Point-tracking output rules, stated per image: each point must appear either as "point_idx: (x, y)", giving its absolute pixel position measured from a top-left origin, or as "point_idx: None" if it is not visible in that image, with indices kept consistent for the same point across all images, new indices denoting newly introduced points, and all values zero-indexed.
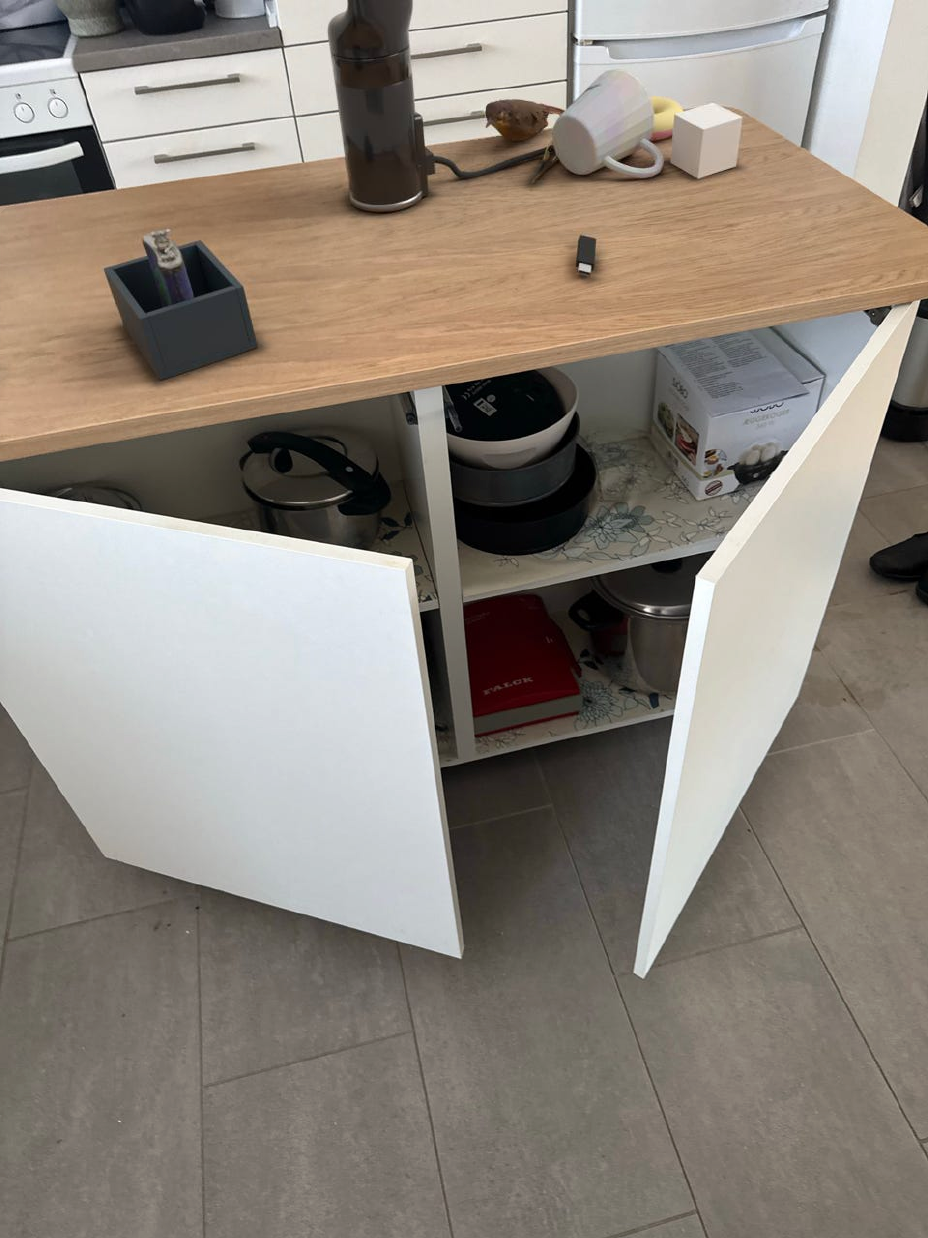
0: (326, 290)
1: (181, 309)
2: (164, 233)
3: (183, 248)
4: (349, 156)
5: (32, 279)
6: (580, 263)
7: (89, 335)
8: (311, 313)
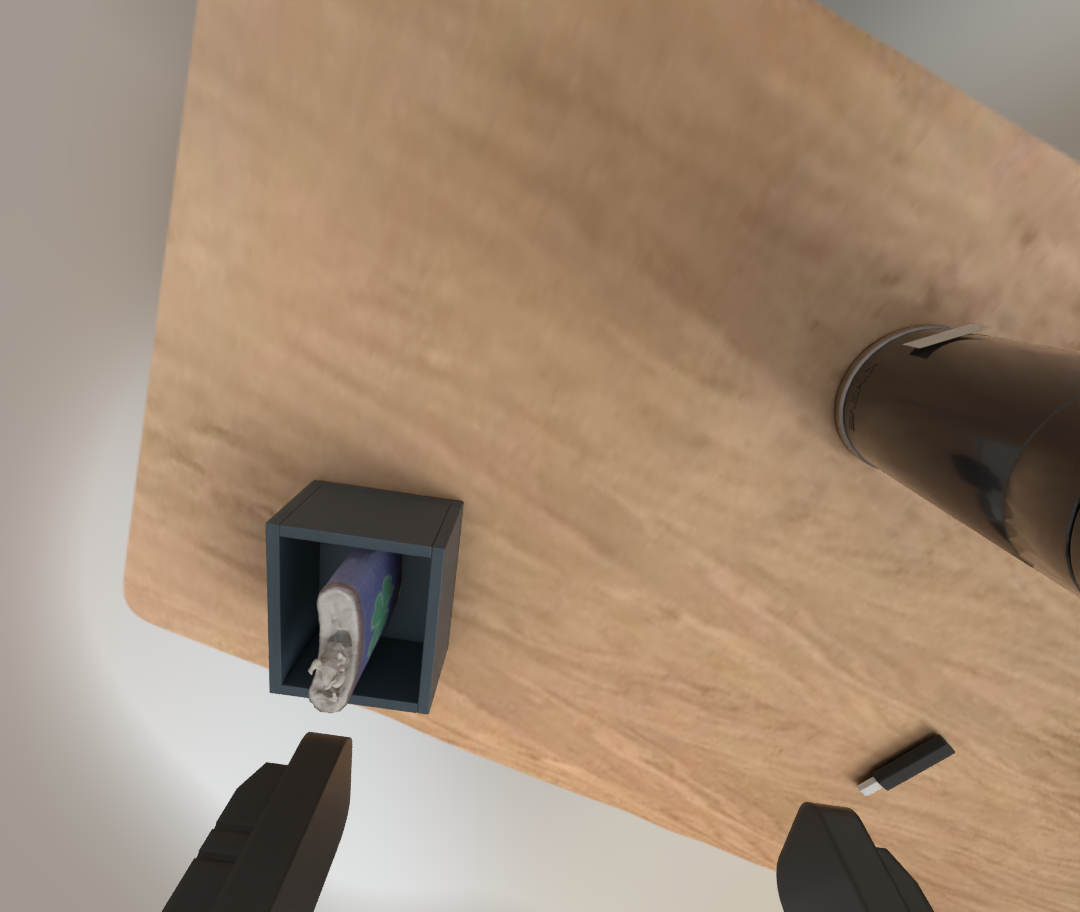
0: (602, 592)
1: None
2: (332, 680)
3: (407, 554)
4: (893, 422)
5: (218, 187)
6: (876, 782)
7: (262, 461)
8: (548, 626)
